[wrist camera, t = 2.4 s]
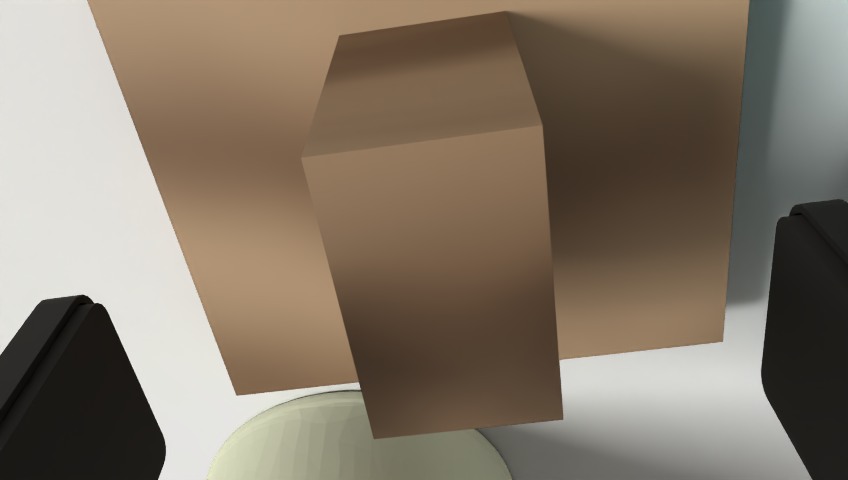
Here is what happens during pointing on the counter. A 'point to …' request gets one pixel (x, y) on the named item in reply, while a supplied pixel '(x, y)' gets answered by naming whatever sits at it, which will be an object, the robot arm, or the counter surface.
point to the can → (347, 447)
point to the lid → (440, 187)
